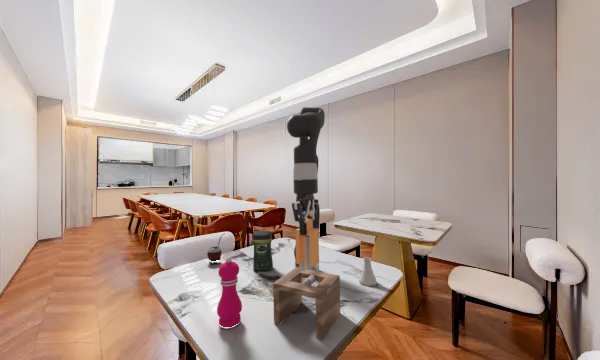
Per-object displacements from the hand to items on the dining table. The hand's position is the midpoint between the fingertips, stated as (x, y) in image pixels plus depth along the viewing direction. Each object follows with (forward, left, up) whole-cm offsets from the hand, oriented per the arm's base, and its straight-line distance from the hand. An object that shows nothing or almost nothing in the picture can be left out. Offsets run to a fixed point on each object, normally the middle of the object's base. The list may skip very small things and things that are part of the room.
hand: (306, 233), depth 71 cm
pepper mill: (-20, -13, -27) cm, 36 cm away
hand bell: (-15, +20, -27) cm, 36 cm away
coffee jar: (-38, +26, -27) cm, 53 cm away
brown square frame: (0, 0, -26) cm, 26 cm away
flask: (+11, +33, -27) cm, 44 cm away
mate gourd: (-66, +21, -27) cm, 75 cm away
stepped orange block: (0, 0, -9) cm, 9 cm away
